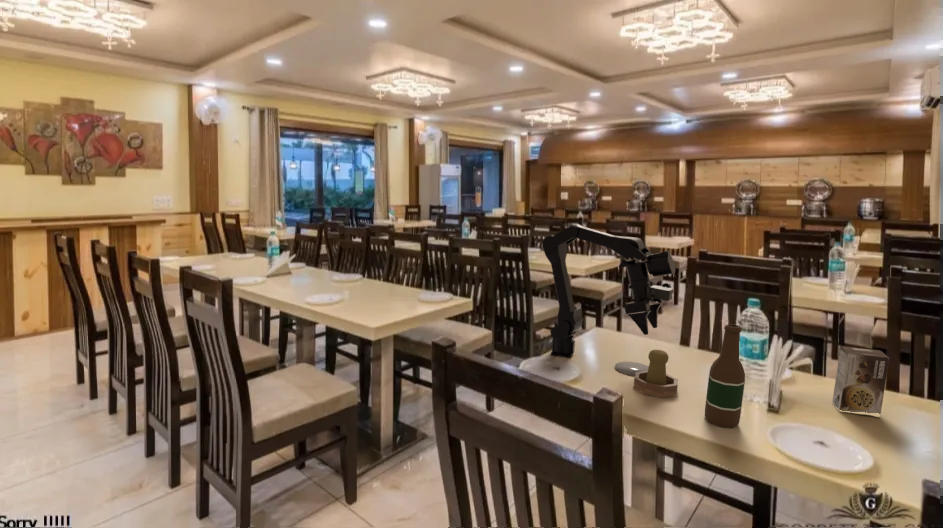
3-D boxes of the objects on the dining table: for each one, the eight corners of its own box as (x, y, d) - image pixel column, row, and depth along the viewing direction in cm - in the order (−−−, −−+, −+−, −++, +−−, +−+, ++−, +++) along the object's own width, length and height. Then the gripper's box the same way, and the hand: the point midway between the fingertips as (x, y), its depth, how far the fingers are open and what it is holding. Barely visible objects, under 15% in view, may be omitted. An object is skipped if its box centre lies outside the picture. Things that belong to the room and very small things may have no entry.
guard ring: (632, 392, 143) (633, 381, 142) (636, 378, 153) (636, 368, 153) (676, 400, 139) (677, 389, 138) (677, 385, 149) (678, 375, 148)
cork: (669, 393, 143) (674, 355, 141) (647, 392, 143) (651, 354, 141) (662, 385, 149) (666, 347, 147) (641, 384, 149) (644, 347, 147)
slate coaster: (612, 372, 157) (612, 370, 157) (617, 361, 167) (617, 359, 167) (651, 378, 153) (651, 376, 153) (653, 367, 163) (653, 365, 163)
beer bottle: (737, 432, 122) (750, 332, 118) (701, 422, 126) (712, 326, 122) (740, 419, 128) (753, 325, 125) (706, 411, 132) (717, 319, 129)
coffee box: (870, 408, 139) (881, 350, 136) (880, 418, 133) (891, 357, 130) (830, 402, 141) (839, 345, 139) (838, 412, 135) (848, 352, 133)
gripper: (657, 279, 143) (670, 335, 143) (674, 271, 158) (686, 321, 158) (618, 285, 150) (630, 339, 149) (638, 277, 165) (649, 325, 165)
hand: (650, 331), depth 155 cm, fingers open, 9 cm apart
